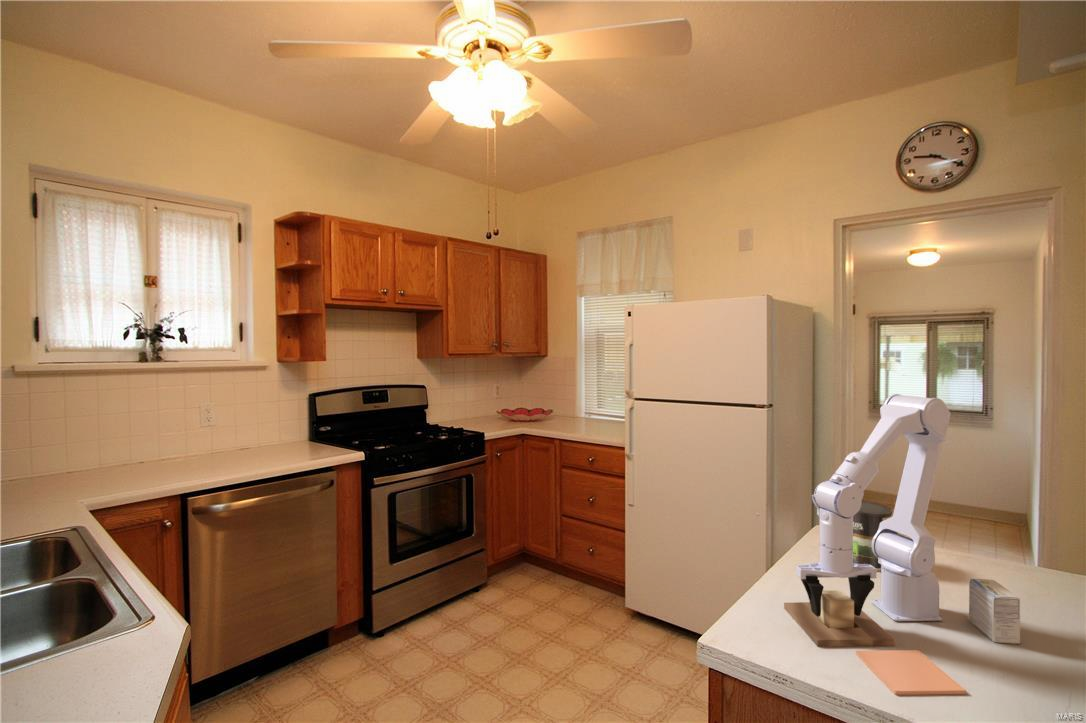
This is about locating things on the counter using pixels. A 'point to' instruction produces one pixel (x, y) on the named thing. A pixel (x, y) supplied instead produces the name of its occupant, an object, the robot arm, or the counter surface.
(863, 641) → the pocket plate
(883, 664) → the tile
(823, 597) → the birch block
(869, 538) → the coffee can
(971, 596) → the medicine box
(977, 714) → the counter surface
